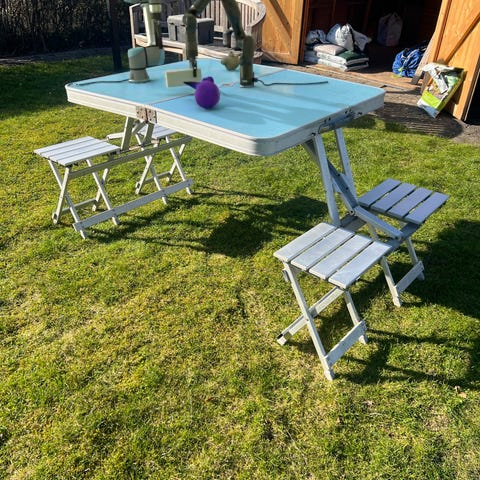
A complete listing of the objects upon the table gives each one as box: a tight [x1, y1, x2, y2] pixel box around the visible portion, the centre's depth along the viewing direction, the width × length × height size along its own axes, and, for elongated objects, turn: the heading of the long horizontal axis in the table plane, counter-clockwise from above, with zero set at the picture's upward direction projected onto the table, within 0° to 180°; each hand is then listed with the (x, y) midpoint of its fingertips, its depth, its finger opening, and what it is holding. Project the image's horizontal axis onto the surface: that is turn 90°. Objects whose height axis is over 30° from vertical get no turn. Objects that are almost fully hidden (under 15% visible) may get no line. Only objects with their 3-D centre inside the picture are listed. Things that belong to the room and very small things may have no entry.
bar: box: [164, 67, 203, 88], centre depth 292 cm, size 23×6×9 cm, turn 107°
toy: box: [183, 75, 221, 110], centre depth 265 cm, size 16×18×27 cm
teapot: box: [220, 50, 242, 72], centre depth 368 cm, size 21×12×15 cm, turn 120°
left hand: (159, 47), depth 298 cm, fingers open, 13 cm apart
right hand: (194, 76), depth 294 cm, fingers closed on bar, 5 cm apart
